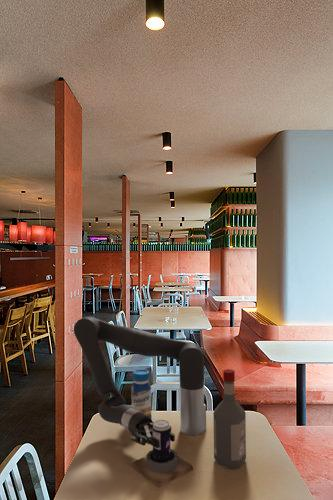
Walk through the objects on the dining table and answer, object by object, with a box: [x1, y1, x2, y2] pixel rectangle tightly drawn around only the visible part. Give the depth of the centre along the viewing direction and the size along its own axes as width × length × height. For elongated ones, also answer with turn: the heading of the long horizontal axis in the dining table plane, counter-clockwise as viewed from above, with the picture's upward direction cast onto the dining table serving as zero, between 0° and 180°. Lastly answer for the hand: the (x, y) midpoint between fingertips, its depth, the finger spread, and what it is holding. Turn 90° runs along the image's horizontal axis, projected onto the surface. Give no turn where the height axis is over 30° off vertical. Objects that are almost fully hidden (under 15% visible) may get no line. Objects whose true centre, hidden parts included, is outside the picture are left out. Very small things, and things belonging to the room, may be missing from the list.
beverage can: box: [152, 419, 171, 463], centre depth 127 cm, size 6×6×12 cm
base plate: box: [131, 455, 194, 488], centre depth 127 cm, size 14×14×2 cm
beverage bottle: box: [130, 369, 153, 420], centre depth 162 cm, size 8×8×20 cm
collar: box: [145, 448, 179, 473], centre depth 127 cm, size 10×10×2 cm
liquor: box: [213, 368, 247, 470], centre depth 130 cm, size 9×9×30 cm
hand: (166, 441), depth 125 cm, fingers closed on beverage can, 5 cm apart
